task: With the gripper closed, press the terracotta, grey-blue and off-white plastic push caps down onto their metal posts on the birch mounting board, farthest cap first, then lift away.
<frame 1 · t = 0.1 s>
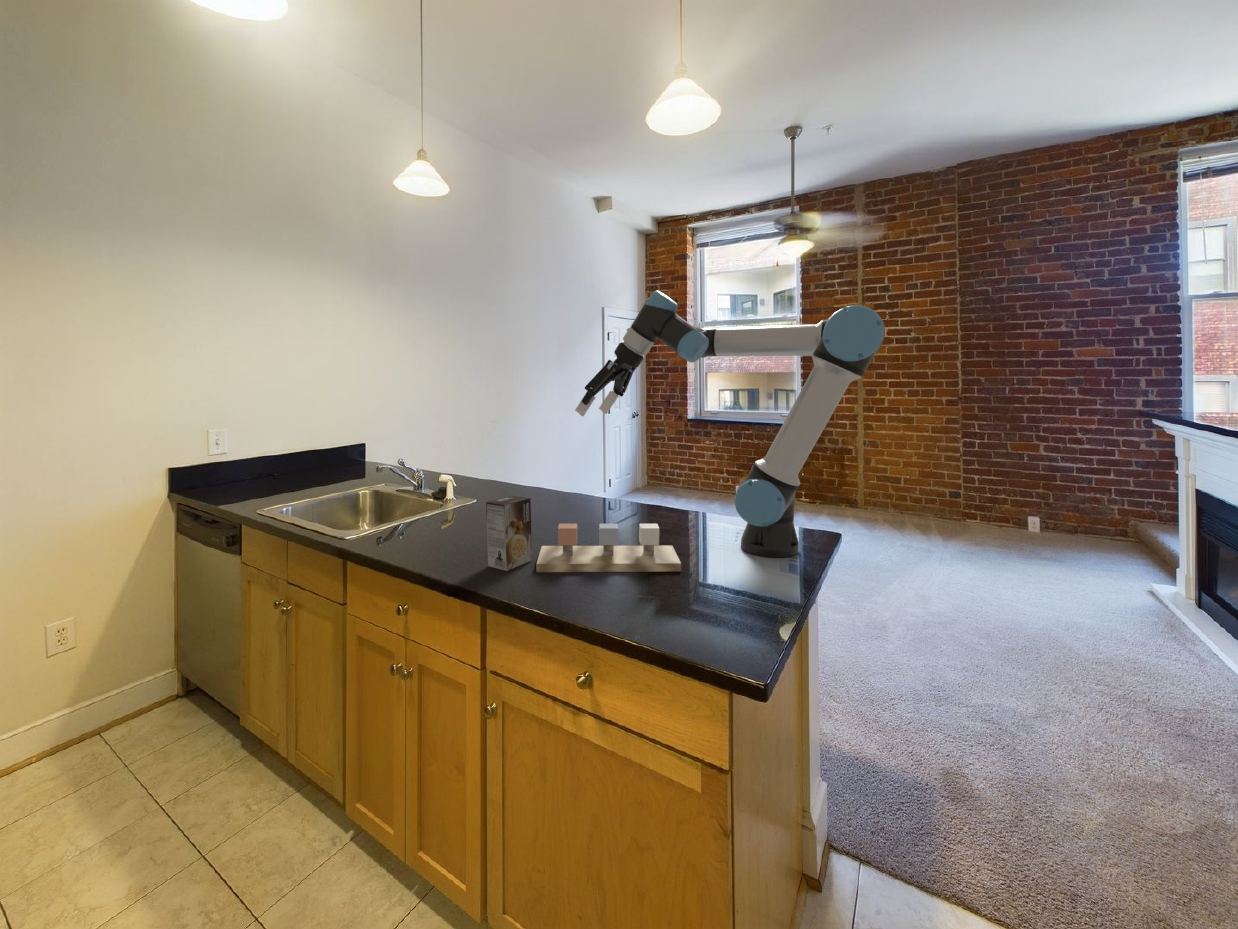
hand: (591, 412, 148), 36 cm above the countertop, tool tilted 35°, fingers open, 13 cm apart
cap far: (567, 534, 131), point 7 cm above the countertop, slide at 0.0 cm
cap near: (648, 534, 132), point 7 cm above the countertop, slide at 0.0 cm
mount board: (608, 561, 132), on the countertop
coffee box: (510, 564, 130), on the countertop
cap middle: (608, 534, 131), point 7 cm above the countertop, slide at 0.0 cm
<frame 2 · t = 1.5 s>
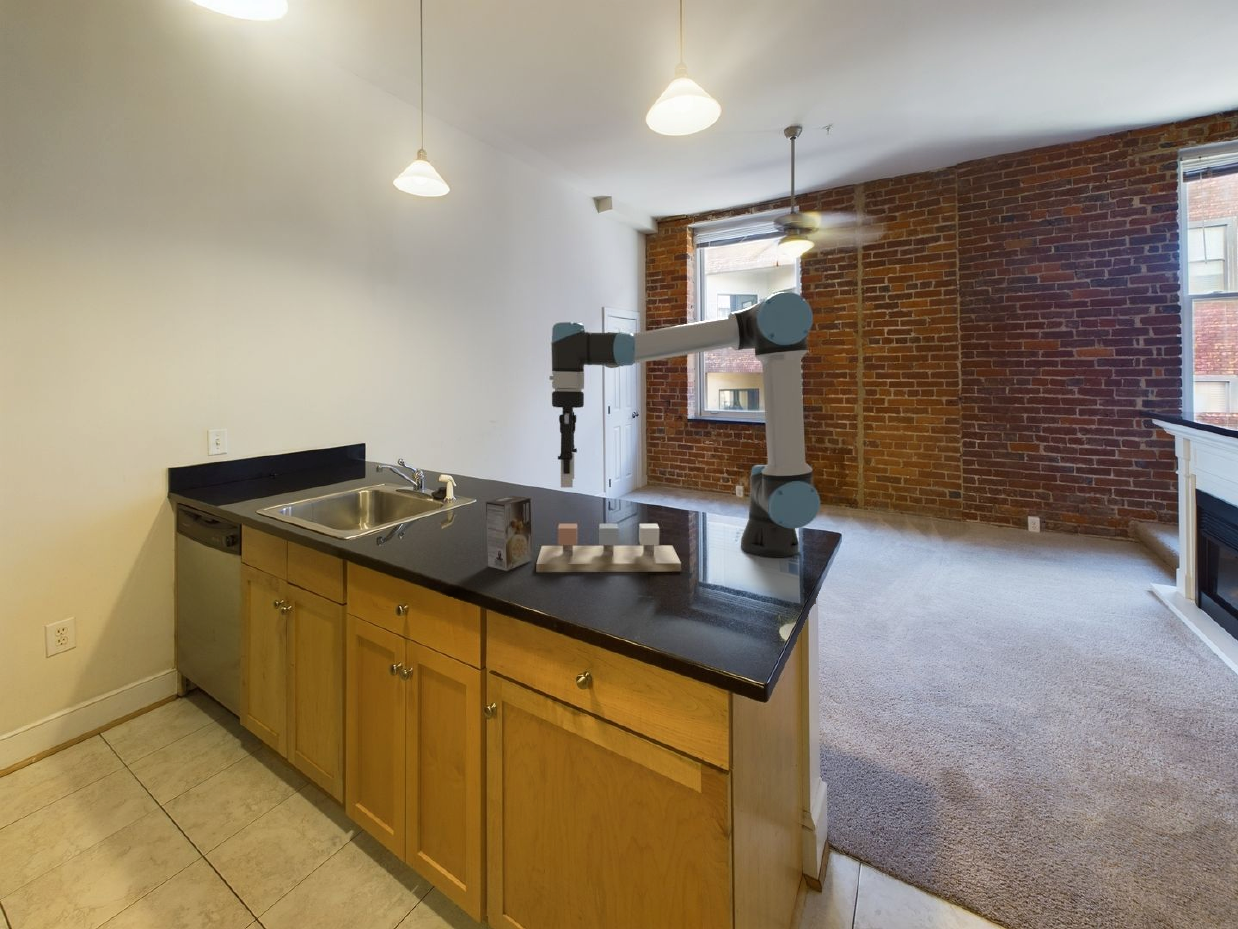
hand: (567, 482, 129), 20 cm above the countertop, tool pointing down, fingers open, 10 cm apart
nothing on the countertop moved.
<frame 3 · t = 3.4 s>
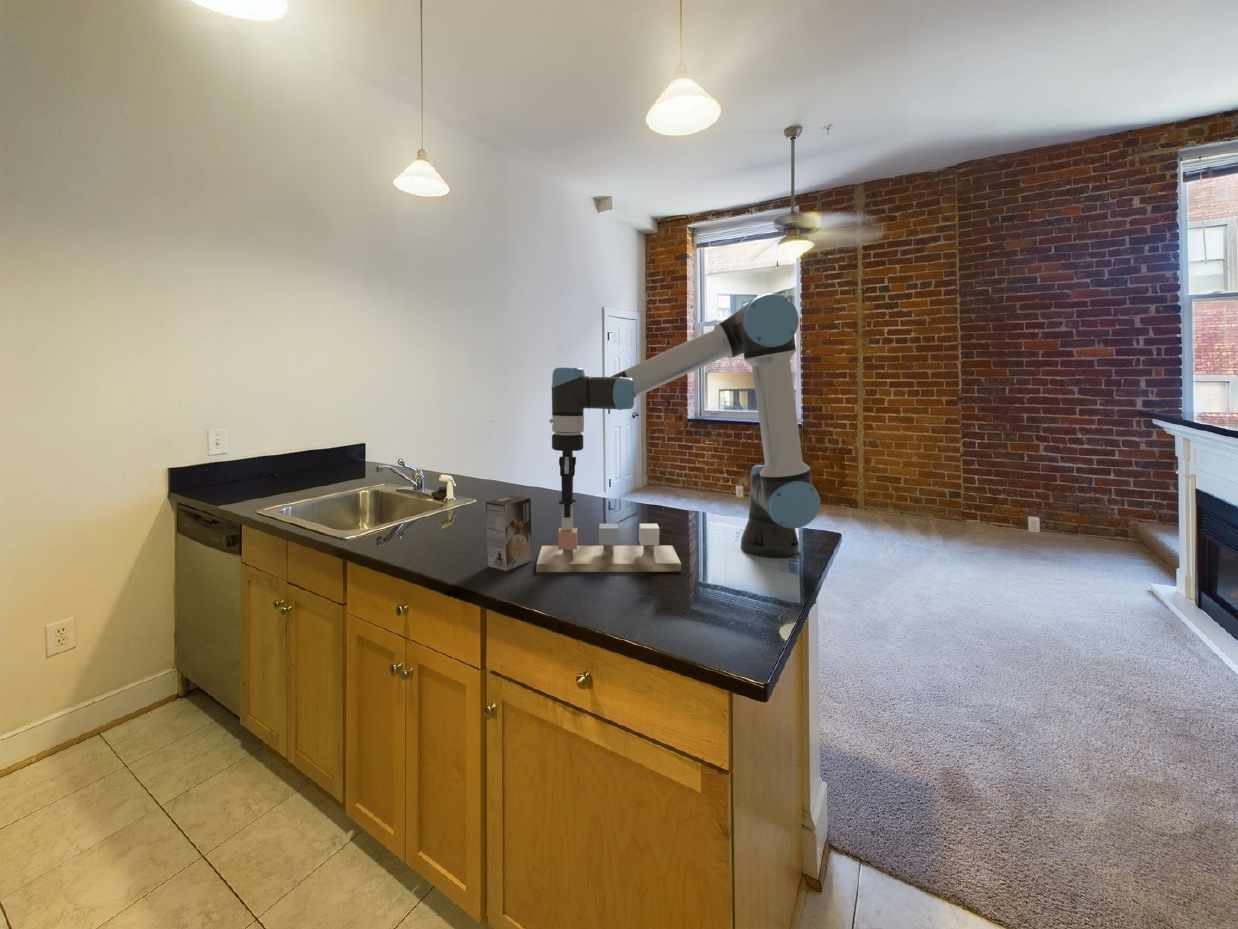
hand: (567, 529, 131), 8 cm above the countertop, tool pointing down, fingers closed
cap far: (567, 538, 131), point 6 cm above the countertop, slide at 1.1 cm, touching gripper
everything else where it was.
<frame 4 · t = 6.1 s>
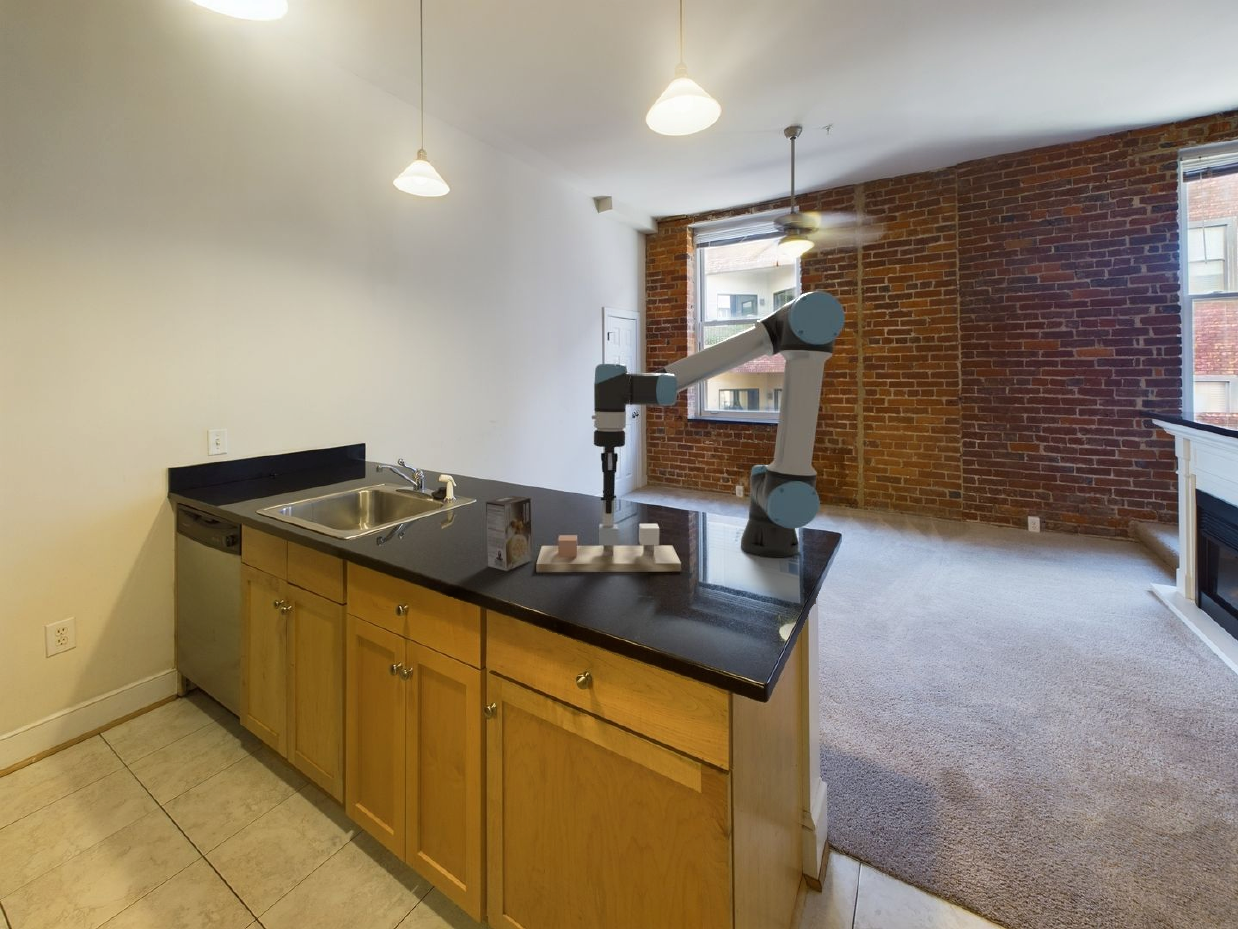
hand: (608, 525, 131), 9 cm above the countertop, tool pointing down, fingers closed
cap far: (567, 546, 131), point 4 cm above the countertop, slide at 3.0 cm, touching mount board
cap middle: (608, 534, 131), point 7 cm above the countertop, slide at 0.1 cm, touching gripper
everything else where it was.
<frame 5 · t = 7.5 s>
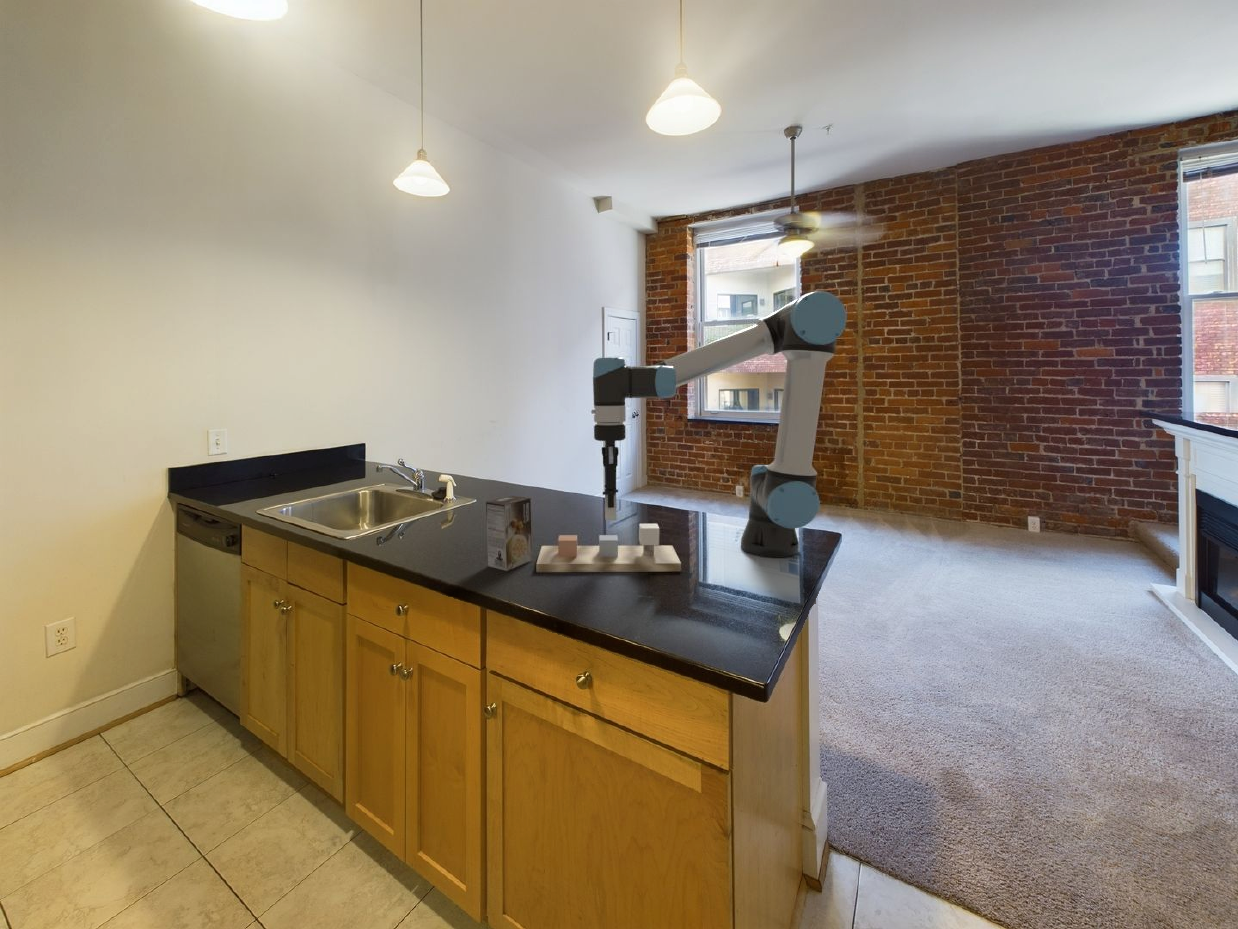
hand: (610, 519, 131), 11 cm above the countertop, tool pointing down, fingers closed
cap middle: (608, 546, 132), point 4 cm above the countertop, slide at 3.0 cm, touching mount board
everything else where it was.
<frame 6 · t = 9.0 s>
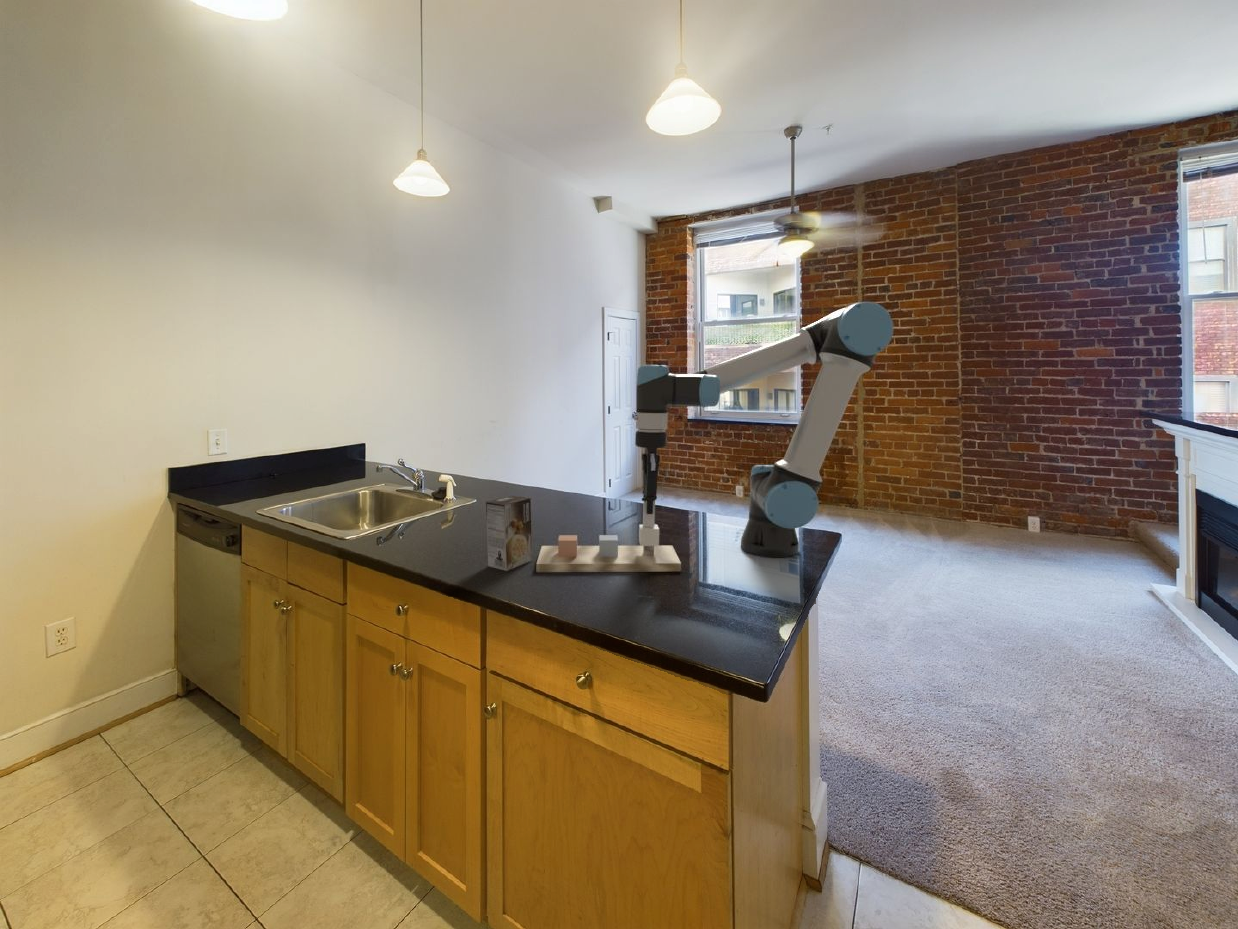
hand: (648, 525, 132), 9 cm above the countertop, tool pointing down, fingers closed
cap near: (648, 535, 132), point 7 cm above the countertop, slide at 0.2 cm, touching gripper
everything else where it was.
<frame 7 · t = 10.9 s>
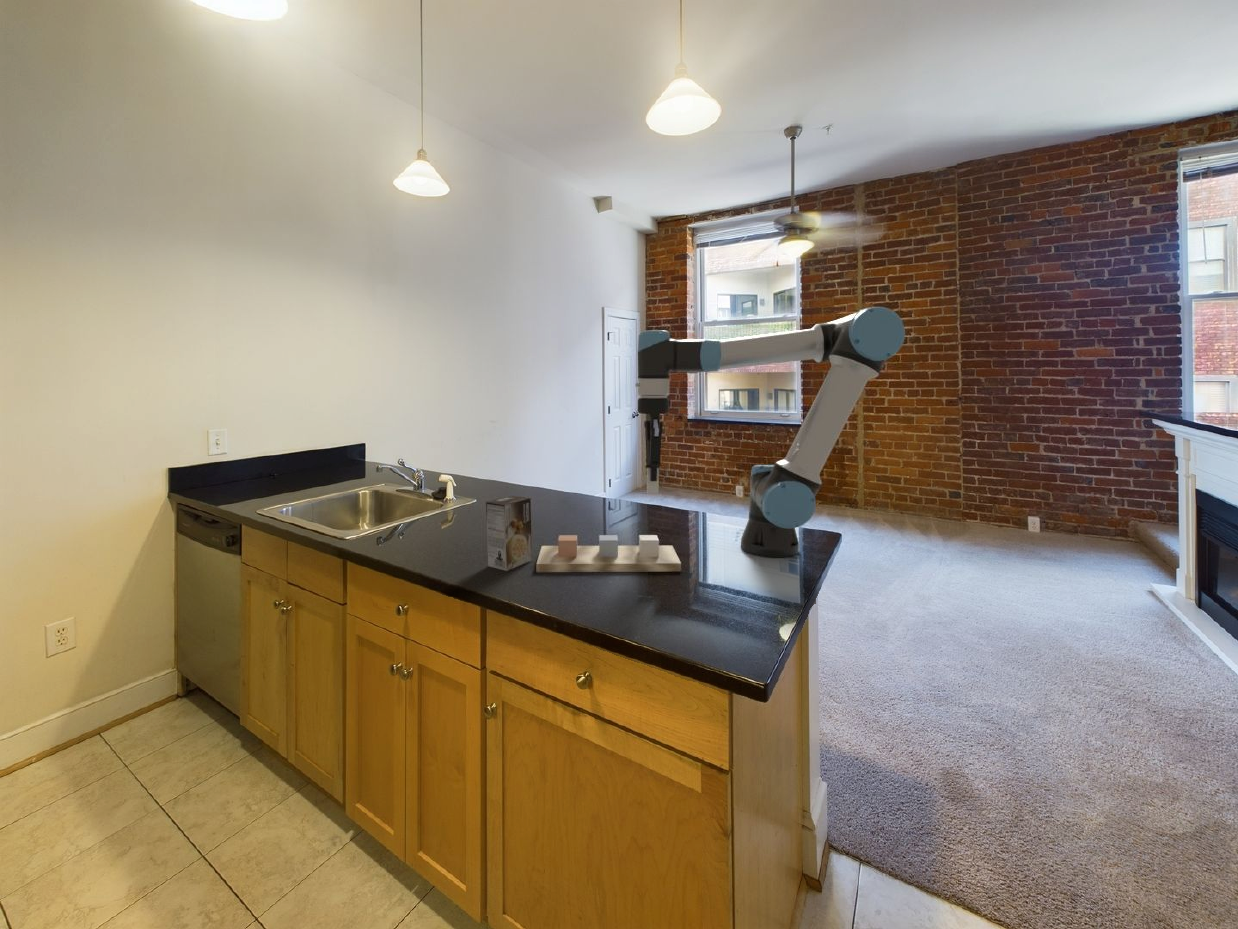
hand: (652, 493, 131), 17 cm above the countertop, tool pointing down, fingers closed
cap near: (648, 545, 132), point 4 cm above the countertop, slide at 3.0 cm, touching mount board
everything else where it was.
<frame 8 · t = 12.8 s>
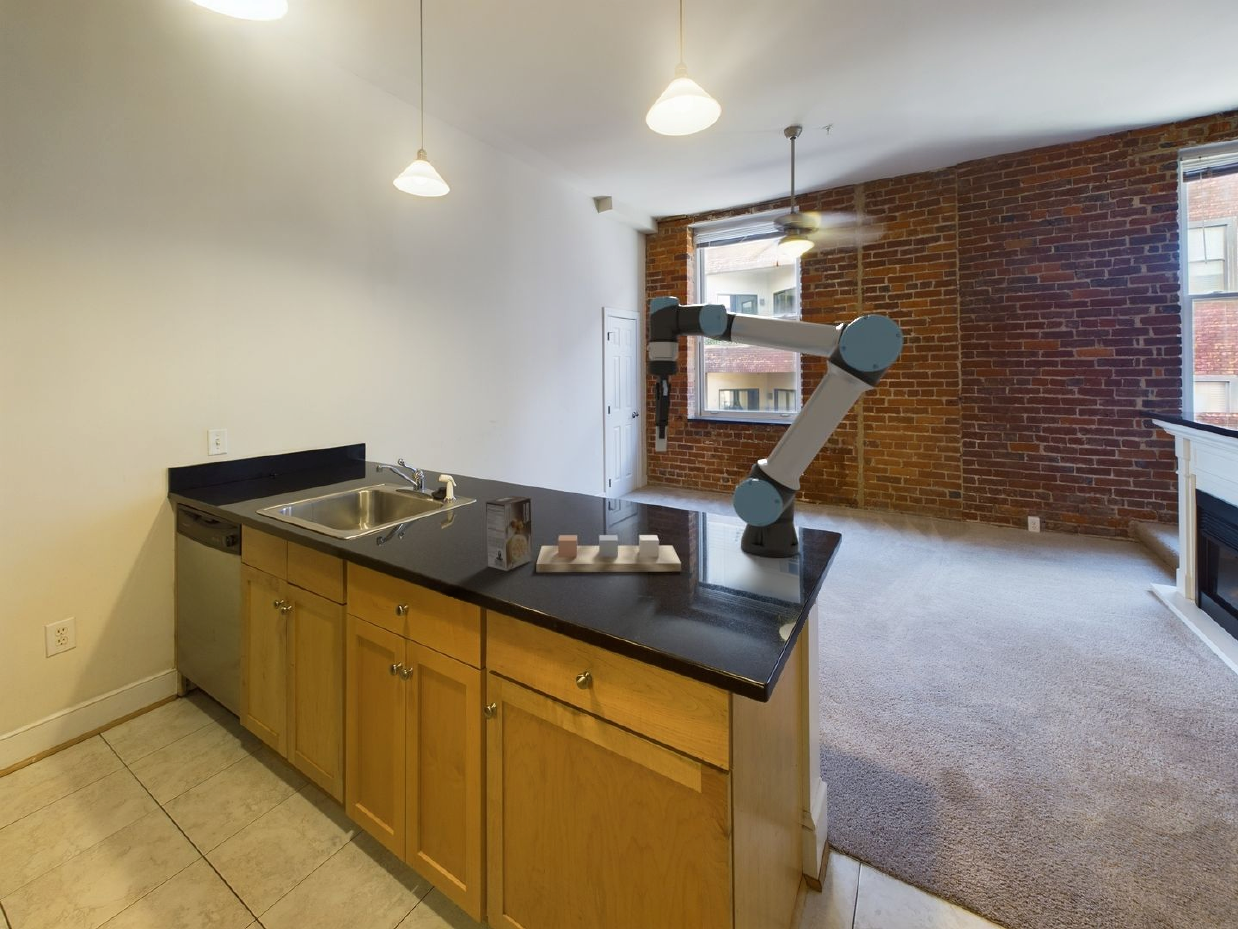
hand: (660, 450, 141), 26 cm above the countertop, tool pointing down, fingers closed
nothing on the countertop moved.
at the end: cap far slide at 3.0 cm; cap middle slide at 3.0 cm; cap near slide at 3.0 cm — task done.
